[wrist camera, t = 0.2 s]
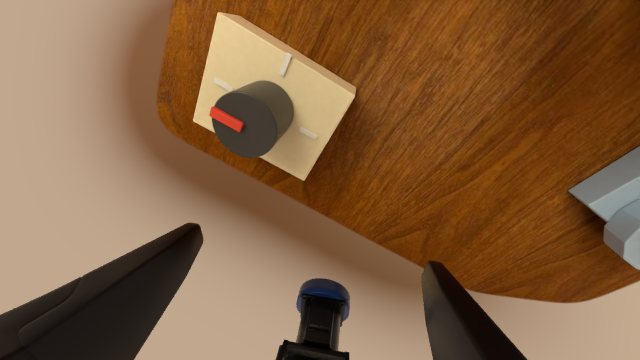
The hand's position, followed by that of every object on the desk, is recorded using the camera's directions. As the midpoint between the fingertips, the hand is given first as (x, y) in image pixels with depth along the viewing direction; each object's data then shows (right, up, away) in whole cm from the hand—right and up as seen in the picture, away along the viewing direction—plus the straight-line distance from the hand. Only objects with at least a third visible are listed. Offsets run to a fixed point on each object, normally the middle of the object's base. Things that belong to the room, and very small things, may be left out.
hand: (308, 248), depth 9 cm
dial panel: (-3, +9, +11) cm, 14 cm away
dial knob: (-3, +8, +8) cm, 12 cm away
